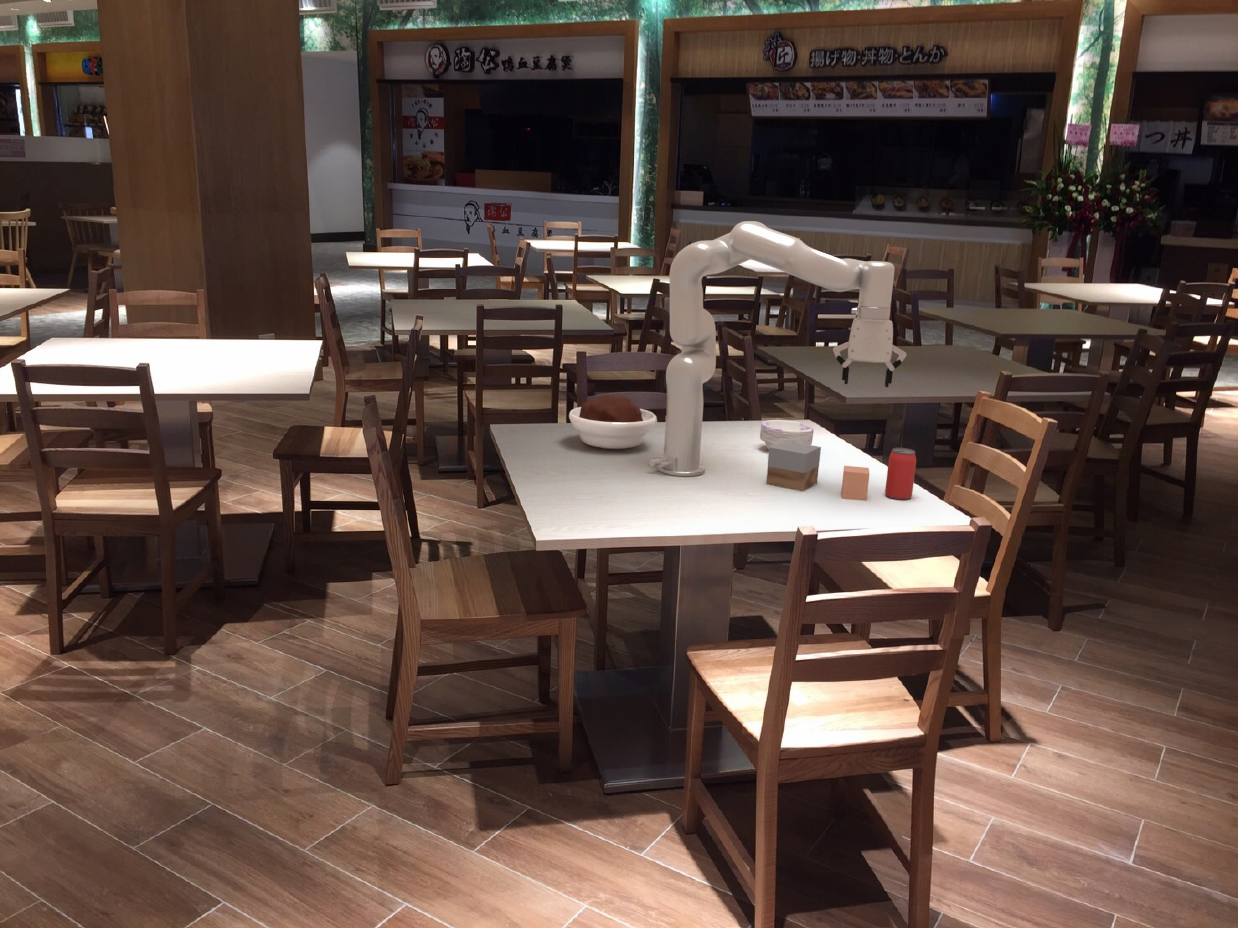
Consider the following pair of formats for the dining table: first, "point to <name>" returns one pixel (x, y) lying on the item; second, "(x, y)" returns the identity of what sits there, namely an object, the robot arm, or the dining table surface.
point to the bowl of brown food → (611, 422)
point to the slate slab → (794, 456)
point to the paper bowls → (785, 432)
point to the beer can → (900, 474)
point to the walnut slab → (792, 478)
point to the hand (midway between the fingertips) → (866, 384)
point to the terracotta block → (855, 483)
